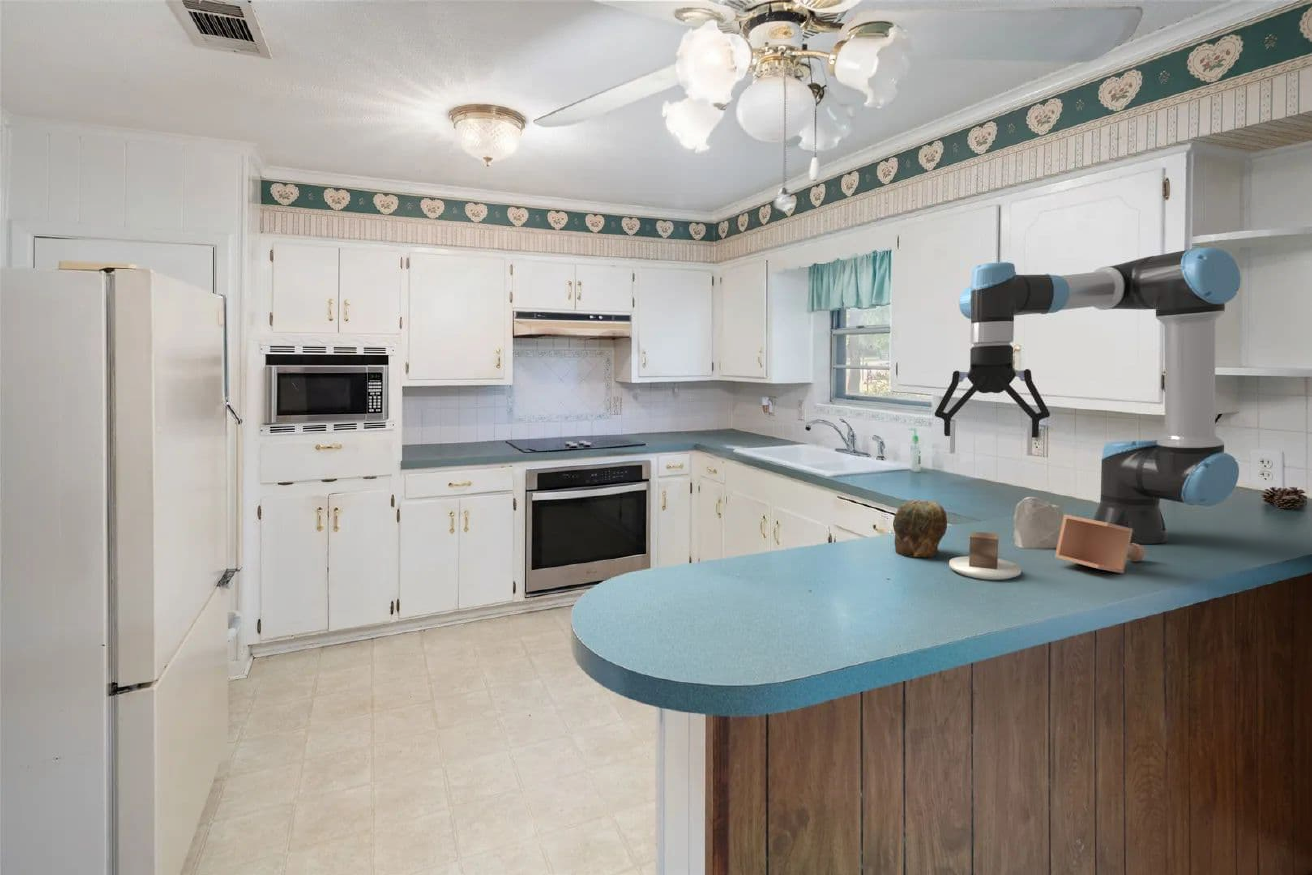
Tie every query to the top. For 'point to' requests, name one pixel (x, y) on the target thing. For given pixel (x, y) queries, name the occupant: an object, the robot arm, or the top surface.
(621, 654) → the top surface
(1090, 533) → the cover
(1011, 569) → the dish
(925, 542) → the brown rounded lump
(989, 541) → the block
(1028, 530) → the stone
